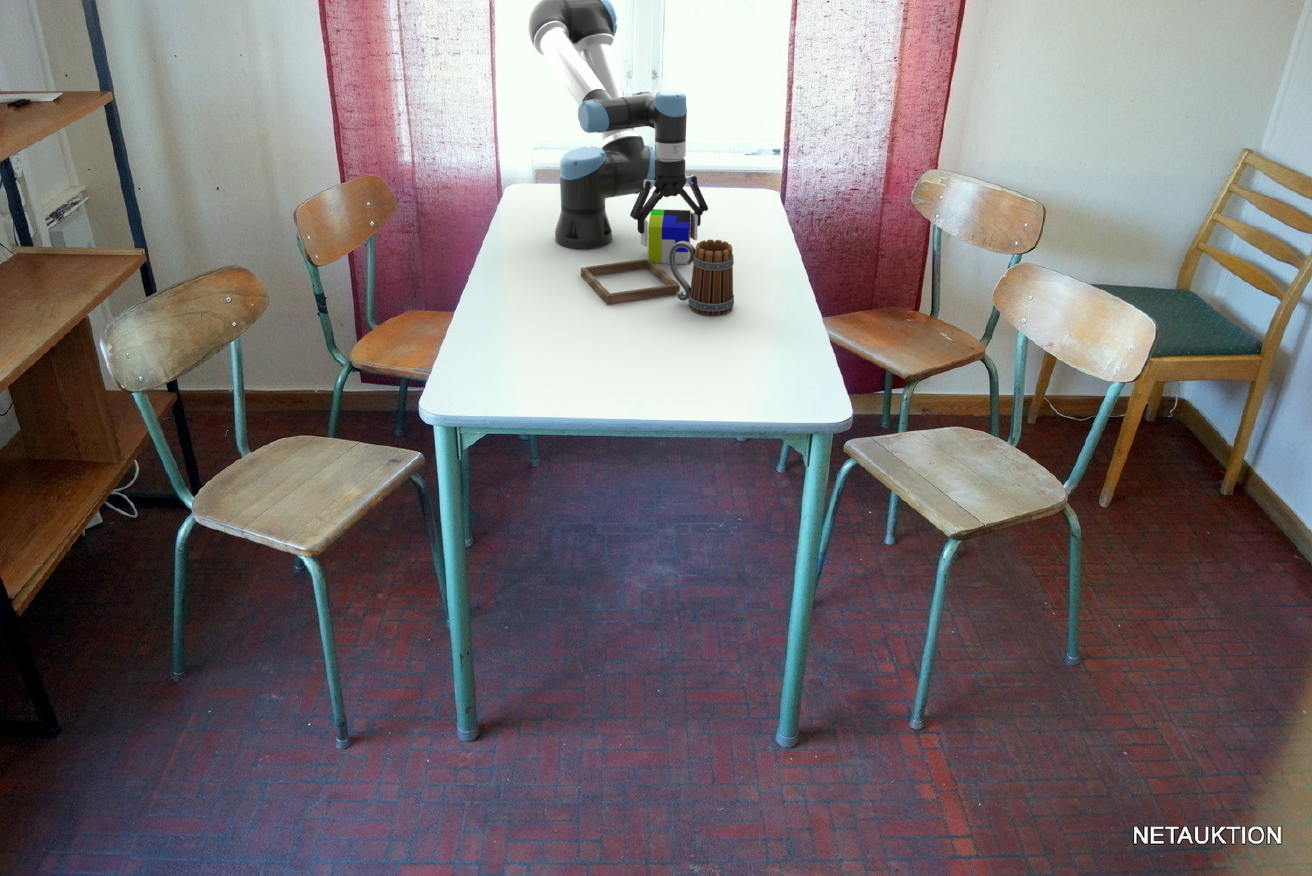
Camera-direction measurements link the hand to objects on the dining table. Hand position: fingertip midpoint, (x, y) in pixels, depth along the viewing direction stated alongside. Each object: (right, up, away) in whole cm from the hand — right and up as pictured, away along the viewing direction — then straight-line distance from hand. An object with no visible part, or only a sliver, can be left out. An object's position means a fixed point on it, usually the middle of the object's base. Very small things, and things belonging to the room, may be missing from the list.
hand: (669, 242), depth 260 cm
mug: (+7, -19, -23) cm, 31 cm away
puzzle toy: (0, -3, +3) cm, 4 cm away
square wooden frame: (-10, -13, -13) cm, 21 cm away
